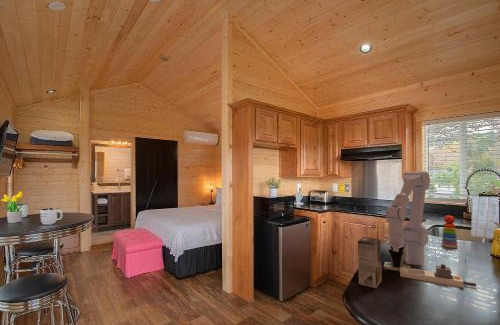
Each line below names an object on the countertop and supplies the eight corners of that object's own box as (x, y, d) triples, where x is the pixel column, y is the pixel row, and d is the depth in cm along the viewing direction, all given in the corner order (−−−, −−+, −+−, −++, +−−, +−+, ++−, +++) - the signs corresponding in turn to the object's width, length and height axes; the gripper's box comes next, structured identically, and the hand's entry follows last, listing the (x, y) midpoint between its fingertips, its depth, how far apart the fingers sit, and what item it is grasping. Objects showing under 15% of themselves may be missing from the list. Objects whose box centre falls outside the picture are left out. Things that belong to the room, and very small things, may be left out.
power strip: (400, 272, 110) (400, 265, 111) (474, 284, 98) (473, 276, 98) (400, 277, 105) (400, 269, 105) (478, 291, 92) (477, 282, 92)
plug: (391, 265, 118) (391, 251, 118) (403, 267, 115) (402, 253, 116) (391, 268, 114) (390, 254, 114) (402, 270, 112) (402, 255, 112)
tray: (385, 264, 121) (385, 261, 121) (410, 268, 115) (410, 265, 115) (383, 269, 114) (383, 266, 114) (410, 273, 109) (410, 270, 109)
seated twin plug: (436, 278, 103) (435, 262, 103) (450, 280, 101) (449, 264, 101) (437, 281, 99) (436, 265, 100) (451, 284, 97) (450, 267, 97)
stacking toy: (446, 248, 153) (444, 216, 154) (438, 244, 161) (437, 214, 162) (461, 248, 151) (459, 216, 153) (452, 245, 159) (451, 214, 161)
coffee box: (365, 277, 104) (364, 236, 106) (382, 281, 100) (381, 239, 102) (357, 284, 97) (357, 240, 99) (376, 288, 93) (375, 243, 95)
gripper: (387, 230, 124) (388, 259, 123) (384, 235, 112) (385, 267, 111) (404, 231, 120) (405, 261, 119) (403, 237, 108) (404, 270, 107)
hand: (397, 264), depth 115 cm, fingers open, 7 cm apart
